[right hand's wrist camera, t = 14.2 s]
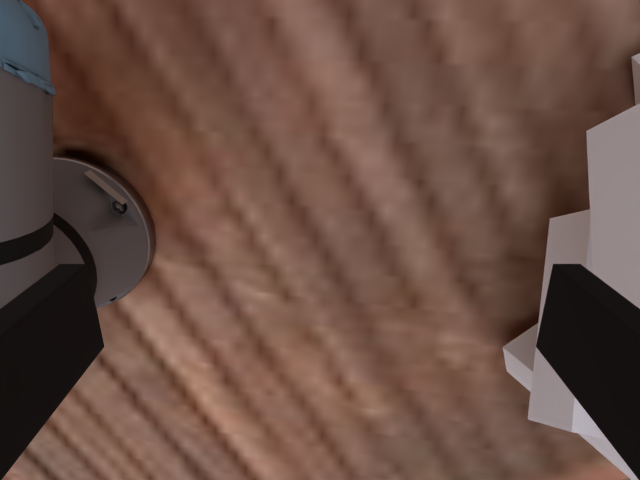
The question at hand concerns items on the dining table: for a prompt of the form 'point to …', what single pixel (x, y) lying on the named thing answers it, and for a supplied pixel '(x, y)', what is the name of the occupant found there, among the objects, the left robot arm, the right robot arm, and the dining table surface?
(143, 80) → the dining table surface
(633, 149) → the pile of blocks
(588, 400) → the right robot arm
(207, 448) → the dining table surface
